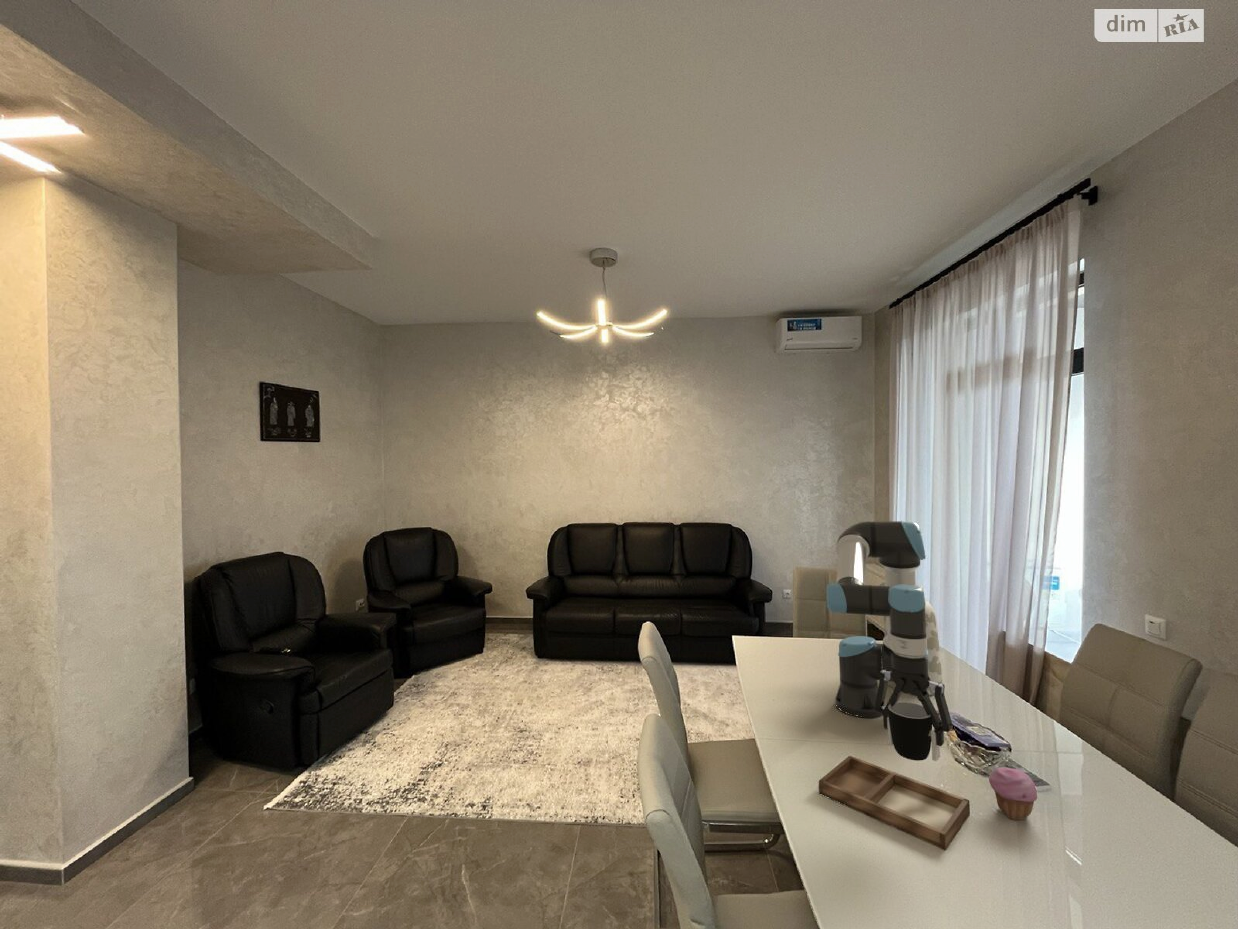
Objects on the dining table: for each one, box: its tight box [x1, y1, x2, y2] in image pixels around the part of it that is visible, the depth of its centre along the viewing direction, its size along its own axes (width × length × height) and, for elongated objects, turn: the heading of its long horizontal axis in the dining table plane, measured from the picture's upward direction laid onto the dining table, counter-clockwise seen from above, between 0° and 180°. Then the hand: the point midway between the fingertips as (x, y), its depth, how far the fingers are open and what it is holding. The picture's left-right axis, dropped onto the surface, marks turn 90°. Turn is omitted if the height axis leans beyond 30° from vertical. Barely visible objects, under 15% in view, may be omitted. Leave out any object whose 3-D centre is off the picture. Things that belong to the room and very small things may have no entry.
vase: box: [878, 581, 943, 696], centre depth 197 cm, size 20×19×38 cm
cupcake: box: [988, 766, 1038, 821], centre depth 121 cm, size 9×9×10 cm
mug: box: [888, 701, 933, 762], centre depth 124 cm, size 12×9×10 cm
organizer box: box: [818, 755, 971, 851], centre depth 127 cm, size 28×17×3 cm, turn 42°
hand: (913, 750), depth 123 cm, fingers closed on mug, 9 cm apart
